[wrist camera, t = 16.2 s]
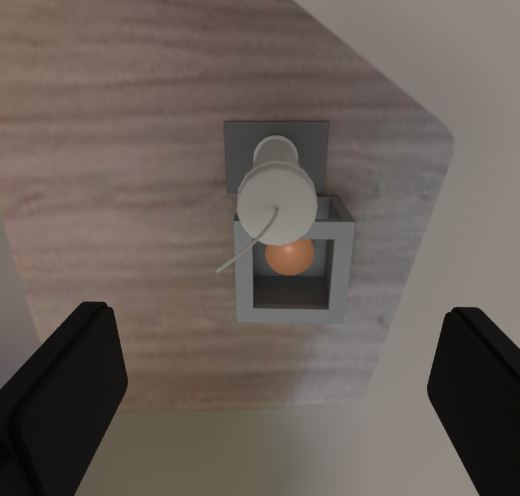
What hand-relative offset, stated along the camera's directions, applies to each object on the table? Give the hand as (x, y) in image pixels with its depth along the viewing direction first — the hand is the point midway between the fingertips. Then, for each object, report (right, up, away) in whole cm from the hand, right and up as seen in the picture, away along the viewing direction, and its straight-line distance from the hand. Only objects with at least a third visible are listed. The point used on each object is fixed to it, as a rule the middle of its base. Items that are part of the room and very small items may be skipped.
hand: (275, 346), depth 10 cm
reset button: (+4, +3, +38) cm, 38 cm away
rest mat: (+2, +15, +35) cm, 38 cm away
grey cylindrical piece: (+1, +15, +35) cm, 38 cm away
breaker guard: (+4, +4, +40) cm, 40 cm away
